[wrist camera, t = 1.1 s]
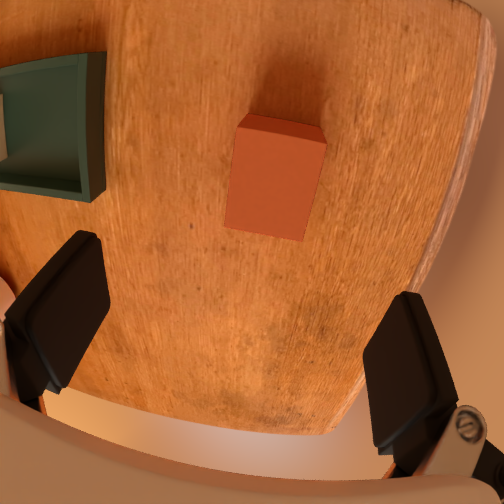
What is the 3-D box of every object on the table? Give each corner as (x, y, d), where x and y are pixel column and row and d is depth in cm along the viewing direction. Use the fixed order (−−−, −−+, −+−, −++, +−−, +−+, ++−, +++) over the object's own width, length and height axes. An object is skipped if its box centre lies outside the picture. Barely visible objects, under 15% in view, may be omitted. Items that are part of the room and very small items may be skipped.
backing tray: (107, 51, 18) (87, 52, 15) (106, 189, 24) (90, 203, 22) (-33, 78, 18) (-50, 83, 16) (-24, 174, 24) (-39, 184, 22)
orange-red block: (320, 127, 20) (327, 143, 16) (301, 210, 23) (302, 242, 20) (247, 113, 20) (236, 126, 16) (235, 197, 24) (223, 227, 20)
